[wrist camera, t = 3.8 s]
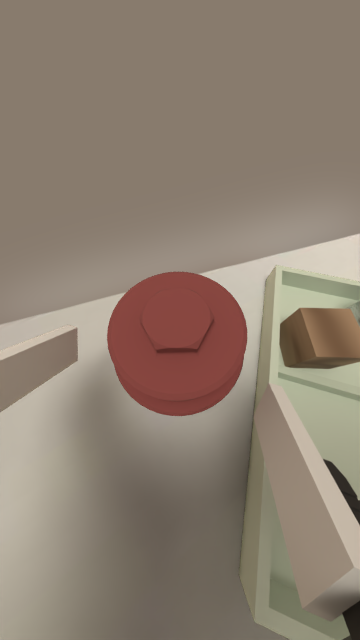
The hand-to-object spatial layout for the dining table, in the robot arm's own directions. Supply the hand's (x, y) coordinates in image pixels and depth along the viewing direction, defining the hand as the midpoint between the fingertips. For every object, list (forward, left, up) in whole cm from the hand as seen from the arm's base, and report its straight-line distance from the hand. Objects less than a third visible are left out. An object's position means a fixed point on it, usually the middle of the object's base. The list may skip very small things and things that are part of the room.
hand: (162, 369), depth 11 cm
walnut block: (-14, -8, -8) cm, 18 cm away
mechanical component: (0, -2, -9) cm, 9 cm away
